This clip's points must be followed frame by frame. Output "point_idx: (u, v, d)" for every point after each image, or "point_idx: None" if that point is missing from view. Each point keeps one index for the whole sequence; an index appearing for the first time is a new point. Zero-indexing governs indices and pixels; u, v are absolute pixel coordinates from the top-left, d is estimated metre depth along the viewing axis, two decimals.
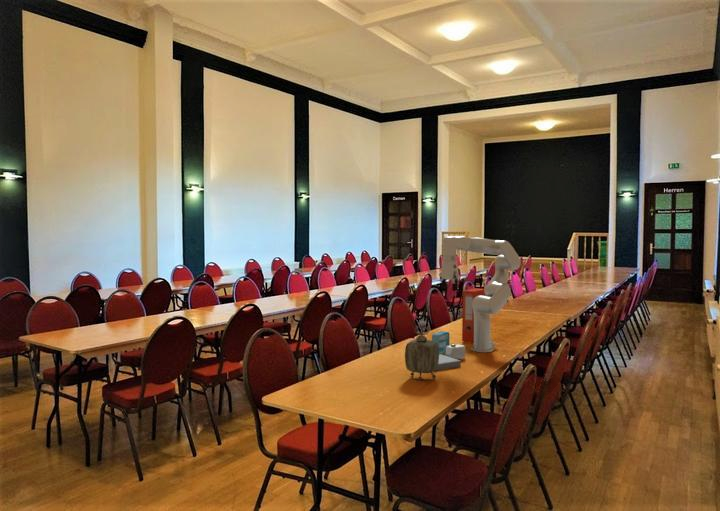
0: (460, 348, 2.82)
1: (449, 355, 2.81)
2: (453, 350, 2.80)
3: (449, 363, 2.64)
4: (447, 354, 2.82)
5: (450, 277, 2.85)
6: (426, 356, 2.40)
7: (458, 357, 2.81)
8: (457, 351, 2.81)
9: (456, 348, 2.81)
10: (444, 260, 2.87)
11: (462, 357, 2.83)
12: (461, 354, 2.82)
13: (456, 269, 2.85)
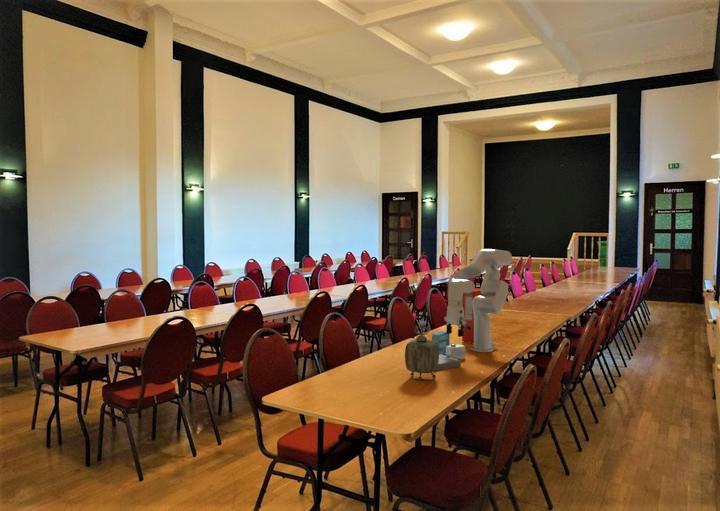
0: (460, 348, 2.82)
1: (449, 355, 2.81)
2: (453, 350, 2.80)
3: (449, 363, 2.64)
4: (447, 354, 2.82)
5: (456, 322, 2.78)
6: (426, 356, 2.40)
7: (458, 357, 2.81)
8: (457, 351, 2.81)
9: (456, 348, 2.81)
10: (450, 305, 2.80)
11: (462, 357, 2.83)
12: (461, 353, 2.82)
13: (462, 314, 2.78)
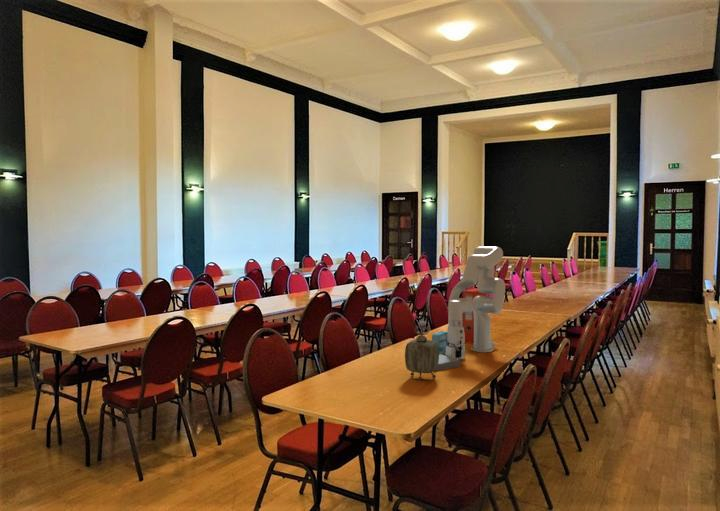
0: None
1: (449, 355, 2.81)
2: (453, 350, 2.80)
3: (449, 363, 2.64)
4: (447, 354, 2.82)
5: (456, 342, 2.79)
6: (426, 356, 2.40)
7: None
8: None
9: (456, 348, 2.81)
10: (450, 325, 2.81)
11: (462, 357, 2.83)
12: (461, 353, 2.82)
13: (462, 334, 2.79)
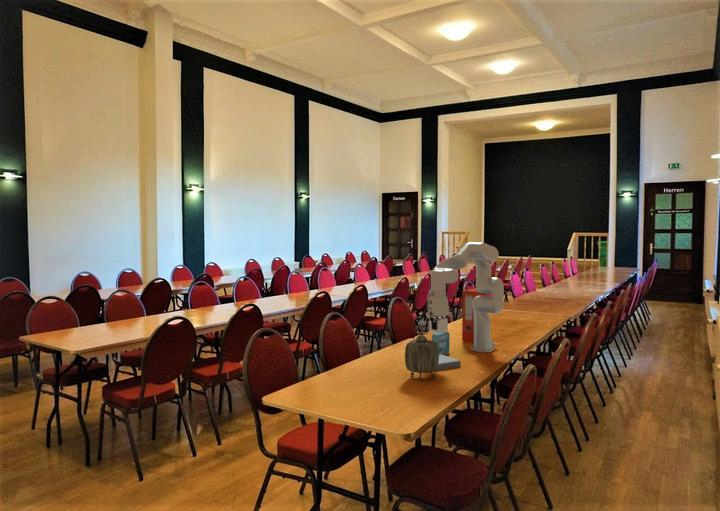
0: (436, 320, 2.67)
1: None
2: None
3: (449, 363, 2.64)
4: None
5: None
6: (426, 356, 2.40)
7: None
8: None
9: None
10: None
11: (437, 330, 2.66)
12: (436, 326, 2.67)
13: (431, 305, 2.66)
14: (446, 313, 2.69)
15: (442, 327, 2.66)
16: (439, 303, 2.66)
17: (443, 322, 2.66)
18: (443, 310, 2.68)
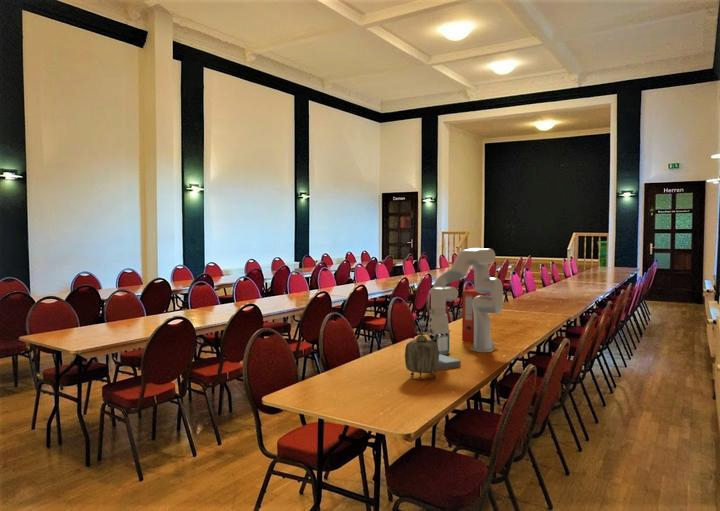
0: (435, 338, 2.68)
1: None
2: None
3: (449, 363, 2.64)
4: None
5: None
6: (426, 356, 2.40)
7: None
8: None
9: None
10: None
11: None
12: None
13: (431, 323, 2.66)
14: (446, 331, 2.69)
15: (442, 345, 2.66)
16: (439, 320, 2.67)
17: (443, 340, 2.66)
18: (443, 328, 2.68)
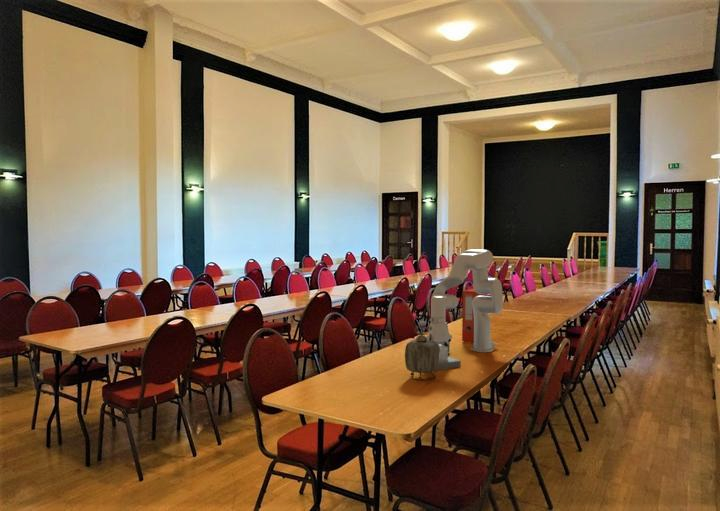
0: None
1: None
2: None
3: (449, 363, 2.64)
4: None
5: None
6: (426, 356, 2.40)
7: None
8: None
9: None
10: None
11: None
12: None
13: (431, 332, 2.67)
14: (446, 339, 2.69)
15: (442, 355, 2.66)
16: (439, 329, 2.67)
17: (444, 350, 2.67)
18: (443, 336, 2.68)
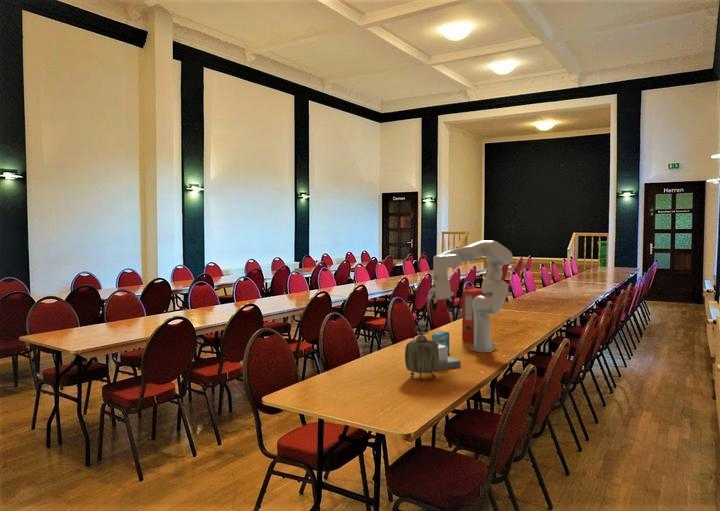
0: None
1: None
2: None
3: (449, 363, 2.64)
4: None
5: None
6: (426, 356, 2.40)
7: None
8: None
9: None
10: None
11: None
12: None
13: (434, 289, 2.81)
14: (448, 296, 2.83)
15: (442, 355, 2.66)
16: (442, 286, 2.81)
17: (444, 350, 2.67)
18: (446, 293, 2.82)
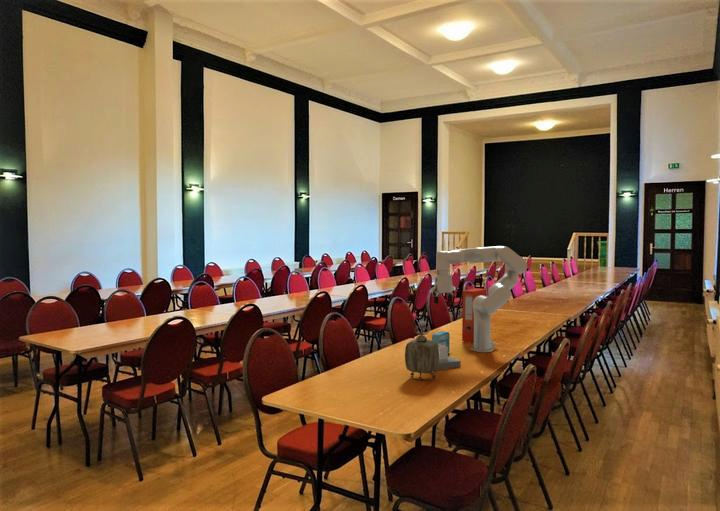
0: None
1: None
2: None
3: (449, 363, 2.64)
4: None
5: None
6: (426, 356, 2.40)
7: None
8: None
9: None
10: None
11: None
12: None
13: (437, 283, 2.94)
14: (450, 290, 2.97)
15: (442, 355, 2.66)
16: (444, 280, 2.95)
17: (444, 350, 2.67)
18: (447, 287, 2.96)
